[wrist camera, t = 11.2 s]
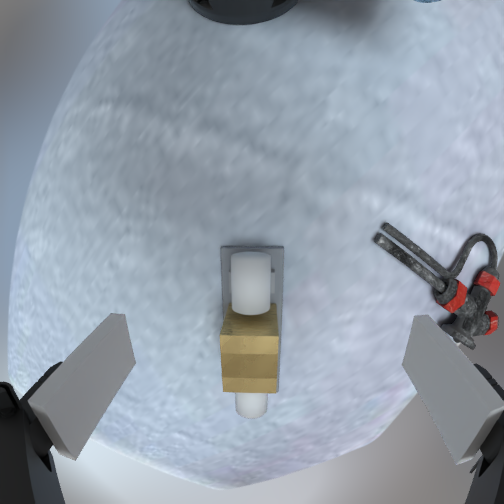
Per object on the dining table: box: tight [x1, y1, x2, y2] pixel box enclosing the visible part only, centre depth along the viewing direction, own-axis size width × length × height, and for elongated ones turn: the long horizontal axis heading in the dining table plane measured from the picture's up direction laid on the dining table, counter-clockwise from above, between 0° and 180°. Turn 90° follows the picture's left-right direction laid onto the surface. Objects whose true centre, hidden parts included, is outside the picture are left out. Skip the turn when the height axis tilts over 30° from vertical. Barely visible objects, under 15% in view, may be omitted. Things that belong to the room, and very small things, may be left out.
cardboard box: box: [220, 303, 279, 393], centre depth 32 cm, size 7×6×8 cm
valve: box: [374, 223, 500, 350], centre depth 33 cm, size 6×26×15 cm
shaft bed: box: [221, 247, 284, 419], centre depth 34 cm, size 20×7×6 cm, turn 0°
